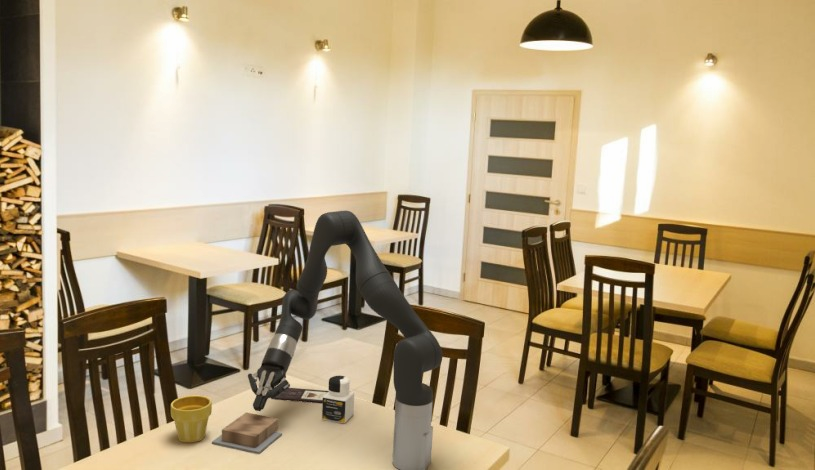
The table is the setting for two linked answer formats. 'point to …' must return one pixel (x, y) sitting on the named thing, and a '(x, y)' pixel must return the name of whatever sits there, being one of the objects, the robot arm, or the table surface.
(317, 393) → the chocolate bar
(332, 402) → the medicine bottle
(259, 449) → the felt mat
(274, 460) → the table surface
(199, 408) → the plant pot
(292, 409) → the table surface
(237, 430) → the walnut tile
